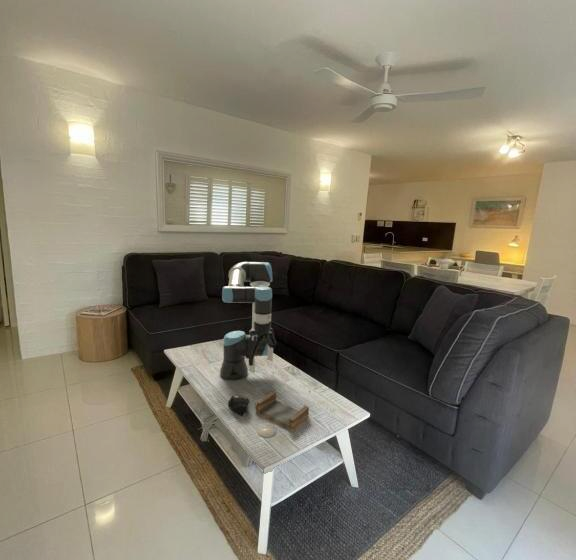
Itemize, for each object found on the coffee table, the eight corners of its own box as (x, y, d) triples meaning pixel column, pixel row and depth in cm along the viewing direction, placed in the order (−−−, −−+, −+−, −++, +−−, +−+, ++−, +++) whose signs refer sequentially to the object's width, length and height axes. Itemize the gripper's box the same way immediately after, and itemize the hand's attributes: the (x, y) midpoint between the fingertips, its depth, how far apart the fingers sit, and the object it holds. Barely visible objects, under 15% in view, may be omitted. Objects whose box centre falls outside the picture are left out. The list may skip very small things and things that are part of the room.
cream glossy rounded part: (252, 432, 125) (252, 430, 125) (265, 422, 132) (265, 420, 131) (267, 440, 121) (267, 439, 120) (280, 430, 127) (280, 428, 127)
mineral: (224, 415, 134) (224, 403, 133) (229, 403, 143) (229, 392, 142) (247, 417, 134) (247, 405, 133) (250, 405, 143) (251, 393, 142)
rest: (255, 412, 137) (256, 402, 136) (272, 400, 147) (273, 390, 146) (292, 432, 126) (293, 420, 125) (308, 417, 135) (308, 407, 134)
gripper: (251, 331, 124) (250, 379, 129) (284, 316, 145) (283, 358, 149) (237, 327, 128) (236, 373, 133) (271, 313, 149) (270, 353, 153)
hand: (261, 365), depth 141 cm, fingers open, 13 cm apart
